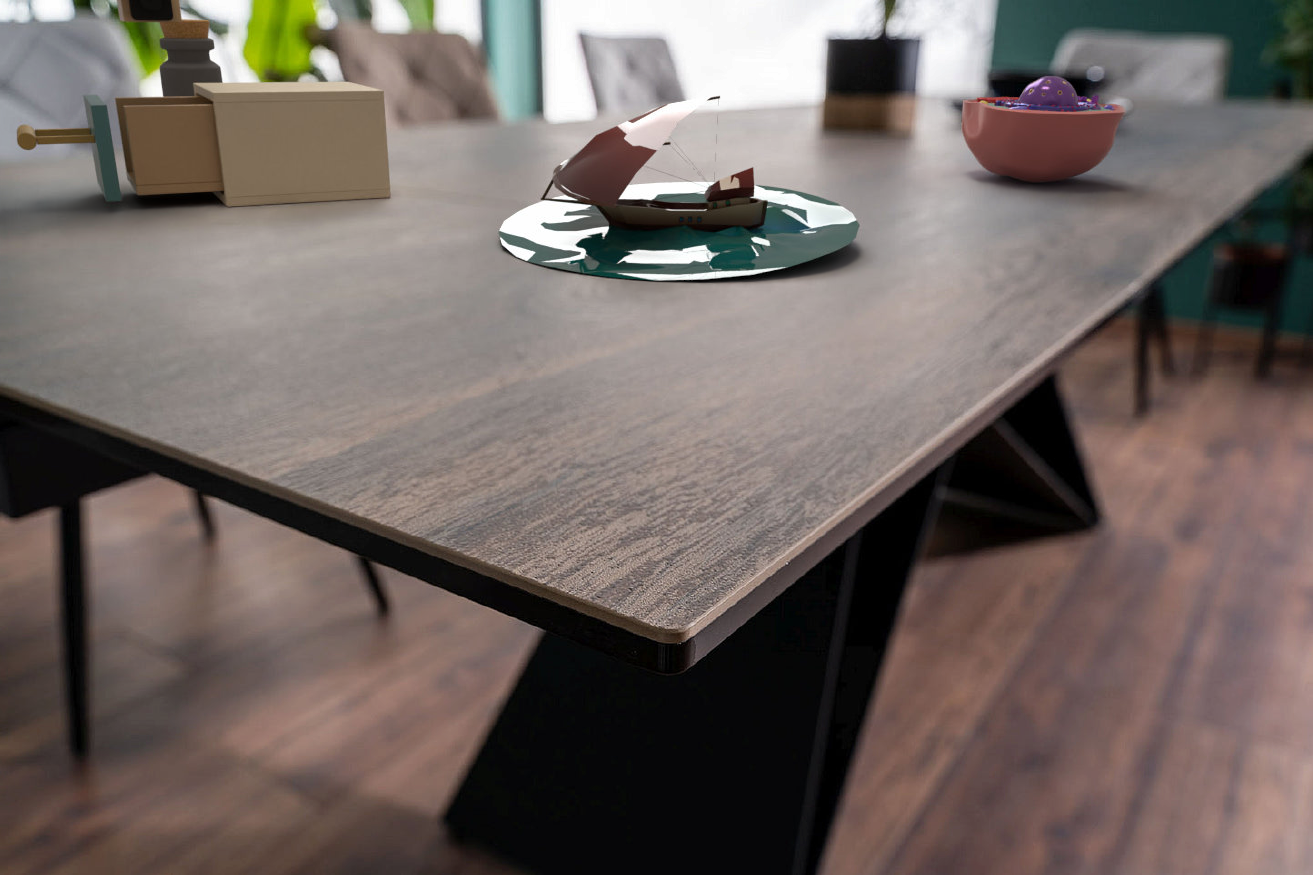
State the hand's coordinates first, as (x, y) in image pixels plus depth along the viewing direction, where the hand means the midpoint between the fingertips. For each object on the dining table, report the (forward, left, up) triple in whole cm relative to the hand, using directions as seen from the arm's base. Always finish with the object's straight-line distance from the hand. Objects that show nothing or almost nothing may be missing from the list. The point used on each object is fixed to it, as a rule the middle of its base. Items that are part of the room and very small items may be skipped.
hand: (149, 17), depth 93 cm
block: (0, 0, 0) cm, 0 cm away
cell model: (+85, +30, -16) cm, 92 cm away
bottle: (-5, +17, -16) cm, 23 cm away
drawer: (-2, -1, -14) cm, 15 cm away
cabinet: (+9, +6, -15) cm, 19 cm away
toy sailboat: (+46, -12, -16) cm, 50 cm away
